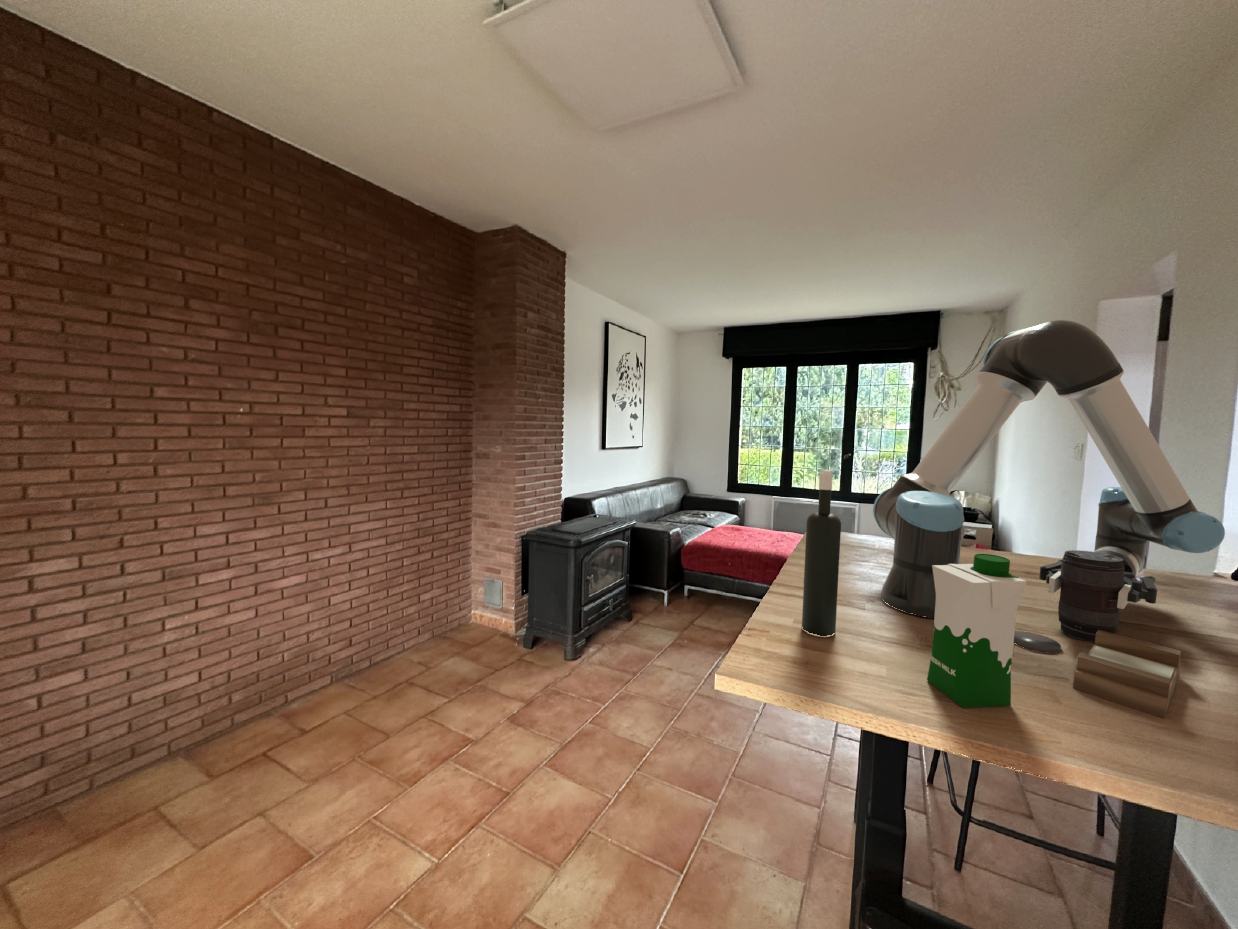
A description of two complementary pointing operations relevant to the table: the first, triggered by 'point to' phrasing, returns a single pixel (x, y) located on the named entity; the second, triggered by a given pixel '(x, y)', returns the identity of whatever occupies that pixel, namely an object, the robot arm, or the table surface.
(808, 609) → the wine bottle
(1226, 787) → the table surface
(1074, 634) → the camera lens
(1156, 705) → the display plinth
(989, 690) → the milk carton
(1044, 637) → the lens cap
